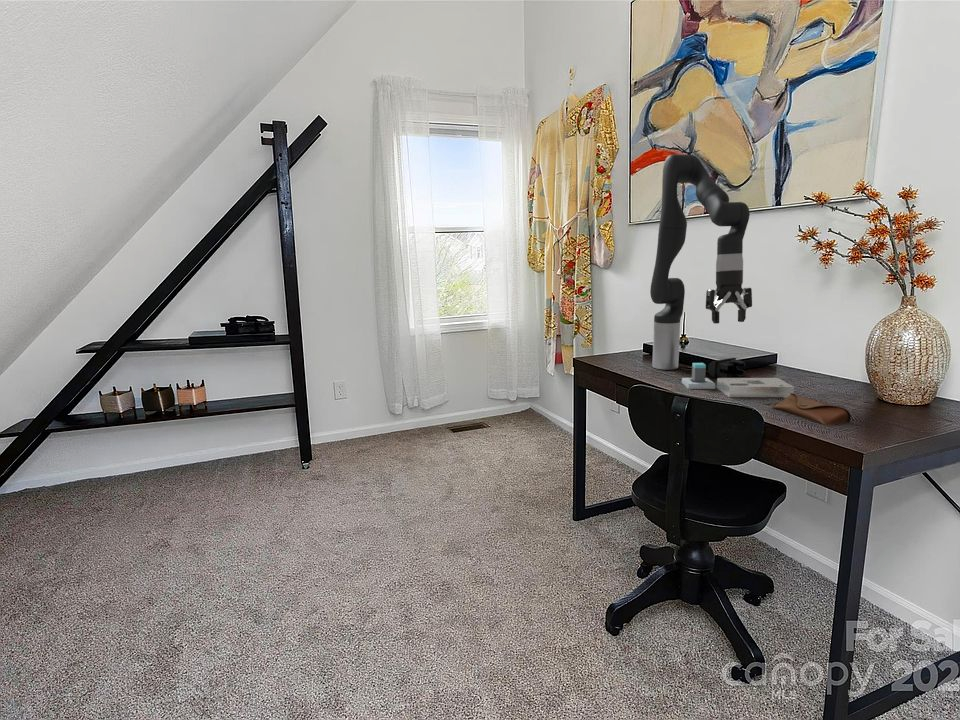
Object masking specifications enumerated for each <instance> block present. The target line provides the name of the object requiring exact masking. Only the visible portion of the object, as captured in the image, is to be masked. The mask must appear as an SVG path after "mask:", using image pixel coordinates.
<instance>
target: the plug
mask: <svg viewBox="0 0 960 720" xmlns="http://www.w3.org/2000/svg"><path fill="white" fill-rule="evenodd" d="M706 367H707V365H706V364H705V363H704V362H692V365H691V378H692V382H693V383H701V382H705V378H706V369H707V368H706Z"/></svg>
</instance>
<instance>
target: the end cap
mask: <svg viewBox="0 0 960 720" xmlns="http://www.w3.org/2000/svg"><path fill="white" fill-rule="evenodd" d="M738 367H743V368H745V367H746V362H745V361H742V360H737V358H736V357H730V358H724V359H717V360H713V361H711V362H709V363H708V366H707V371H708V374H709V376H710V377H711V378H733V377H735V378H743V376H745V370H743V369H739V368H738Z"/></svg>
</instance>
